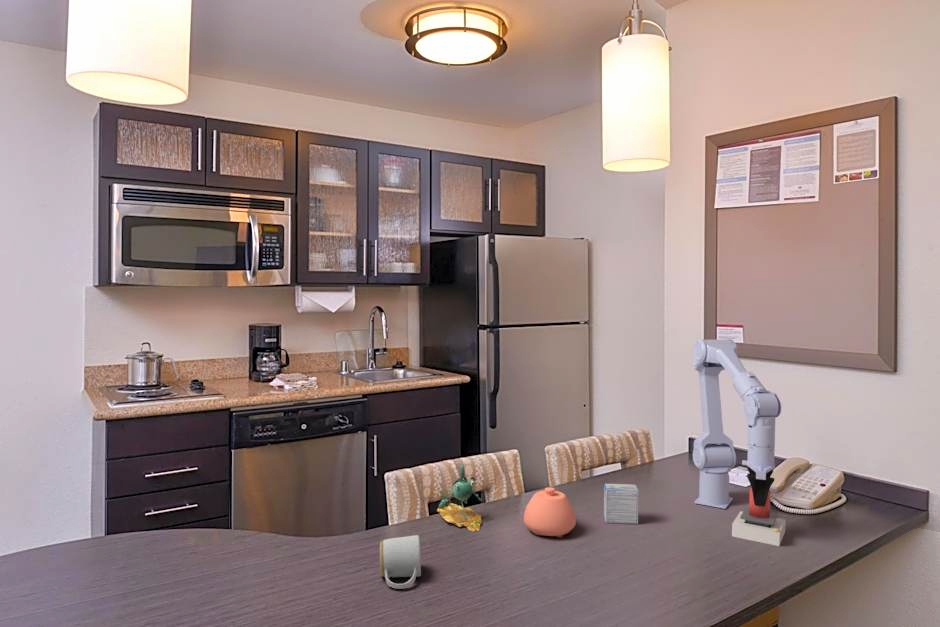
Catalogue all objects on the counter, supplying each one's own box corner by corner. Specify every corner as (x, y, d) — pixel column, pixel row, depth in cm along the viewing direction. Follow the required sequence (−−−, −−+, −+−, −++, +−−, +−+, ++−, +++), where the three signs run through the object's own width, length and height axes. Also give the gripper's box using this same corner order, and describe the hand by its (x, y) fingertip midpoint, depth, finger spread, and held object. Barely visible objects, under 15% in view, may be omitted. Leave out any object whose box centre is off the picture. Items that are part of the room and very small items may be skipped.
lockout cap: (748, 510, 152) (749, 485, 152) (769, 513, 150) (770, 488, 150) (749, 516, 148) (749, 491, 148) (769, 519, 146) (770, 493, 146)
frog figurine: (462, 505, 168) (466, 451, 166) (494, 536, 152) (498, 477, 150) (428, 510, 164) (432, 455, 162) (457, 543, 148) (462, 482, 146)
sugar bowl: (519, 538, 146) (520, 494, 146) (528, 517, 160) (529, 476, 159) (573, 543, 143) (574, 498, 143) (578, 521, 157) (578, 480, 156)
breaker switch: (745, 522, 154) (746, 507, 154) (777, 528, 150) (777, 513, 150) (740, 531, 148) (740, 516, 148) (773, 538, 144) (773, 522, 144)
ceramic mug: (379, 567, 130) (379, 531, 130) (420, 565, 131) (420, 529, 131) (379, 593, 120) (379, 553, 119) (422, 591, 121) (423, 551, 120)
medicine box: (635, 518, 159) (636, 484, 159) (638, 524, 155) (638, 489, 154) (603, 517, 160) (603, 483, 160) (605, 523, 156) (606, 488, 155)
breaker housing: (740, 523, 156) (740, 508, 156) (785, 532, 151) (785, 517, 151) (731, 536, 148) (732, 521, 148) (779, 546, 142) (779, 530, 142)
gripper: (742, 436, 157) (741, 490, 157) (742, 449, 143) (740, 509, 144) (774, 439, 154) (773, 494, 154) (776, 453, 141) (775, 513, 141)
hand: (759, 501), depth 149 cm, fingers open, 5 cm apart
